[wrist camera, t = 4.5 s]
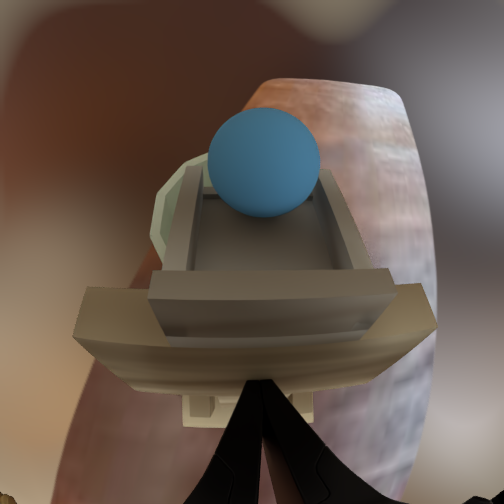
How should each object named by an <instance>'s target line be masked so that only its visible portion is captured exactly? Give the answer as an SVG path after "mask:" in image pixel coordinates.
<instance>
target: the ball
mask: <svg viewBox="0 0 504 504" xmlns="http://www.w3.org/2000/svg"><path fill="white" fill-rule="evenodd" d="M207 166H208V173H209V177H210V180H211V183H212V185H213V187H214V189H215V191H216V192H217V193H218V195H219V196H220V198H221V199H222V200H223V201H224V202H225V203H226V204H228V205H229V206H230V207H231V208H233V209H235V210H236V211H239V212H241V213H243V214H246V215H249V216H253V217H262V218H264V217H275V216H279V215H283V214H285V213H288V212H290V211H292V210H294V209H295V208H297V207H298V206H299V205H300V204H302V203H303V202H304V201H305V200H306V199H307V198H308V196H309V195H310V194H311V192H312V191H313V189H314V187H315V185H316V182H317V180H318V176H319V171H320V155H319V150H318V146H317V143H316V141H315V139H314V137H313V135H312V134H311V132H310V131H309V129H308V128H307V127H306V126H305V125H304V124H303V123H302V122H301V121H300V120H298V119H297V118H296V117H294V116H292V115H290V114H289V113H287V112H284V111H281V110H278V109H274V108H254V109H249V110H245V111H243V112H240V113H238V114H236V115H235V116H233V117H231V118H230V119H229V120H227V121H226V122H225V123H224V124H223V125H222V126H221V127H220V128H219V130H218V131H217V133H216V134H215V136H214V138H213V139H212V142H211V144H210V148H209V152H208V164H207Z"/></svg>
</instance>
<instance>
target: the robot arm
mask: <svg viewBox="0 0 504 504" xmlns="http://www.w3.org/2000/svg"><path fill="white" fill-rule="evenodd" d="M262 443H263V447H264V451H265V456H266V460H267V464H268V469H269V473H270V477H271V481H272V485H273V490H274V494H275V498H276V502H277V504H408V503H404V502H399V501H396V500H393V499H390V498H388V497H386V496H384V495H382V494H381V493H379V492H378V491H376V490H375V489H374V488H372V487H371V486H370V485H369V484H367V483H366V482H365V481H363V480H362V479H361V478H360V477H358V476H357V475H356V474H355V473H354V472H352V471H351V470H350V469H349V468H348V467H347V466H346V465H344V464H343V463H342V462H341V461H340V460H339V459H338V458H337V457H336V455H335V454H334V453H333V452H332V451H331V450H330V449H329V448H328V446H325V445H326V444H325V443H324V442H323V441H322V440H321V439H320V437H319V436H318V435H317V434H316V433H315V431H314V430H313V429H312V428H311V427H310V426H309V424H308V423H307V422H306V421H305V419H304V418H303V417H302V416H301V415H300V413H299V412H298V411H297V410H296V408H295V407H294V406H293V405H292V404H291V402H290V401H289V400H288V399H287V397H286V396H285V395H284V393H283V392H282V391H281V390H280V388H279V387H278V386H277V385H276V383H275V382H274V381H273V380H272V379H265V380H260V381H259V380H246V382H245V385H244V387H243V389H242V392H241V394H240V396H239V399H238V401H237V403H236V406H235V408H234V410H233V413H232V415H231V417H230V420H229V422H228V424H227V426H226V429H225V431H224V433H223V435H222V438H221V440H220V442H219V444H218V446H217V448H216V451H215V454H214V455H213V457H212V459H211V461H210V463H209V465H208V467H207V469H206V471H205V473H204V475H203V476H202V478H201V479H200V481H199V482H198V484H197V485H196V487H195V488H194V490H193V491H192V493H191V494H190V495H189V497H188V498H187V499H186V501H185V502H184V503H183V504H258V496H259V481H260V465H261V448H262ZM463 504H504V490H503V491H501V492H500V493H499V494H498V495H496V496H495V497H494V498H492V499H491V500H488V499H486V498H482V497H478V496H473V497H472V498H470V499H469V500H467V501H466V502H464V503H463Z"/></svg>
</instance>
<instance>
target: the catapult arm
mask: <svg viewBox="0 0 504 504" xmlns="http://www.w3.org/2000/svg"><path fill="white" fill-rule="evenodd" d="M437 328H438V325H437V323H436V320H435V317H434V315H433V312H432V309H431V307H430V304H429V302H428V299H427V297H426V294H425V292H424V289H423V287H422V285H421V283H415V284H401V285H395V284H394V281H393V279H392V276H391V274H390V271H389V269H388V268H381V269H374V268H373V266H372V263H371V260H370V258H369V255H368V253H367V250H366V248H365V245H364V243H363V240H362V238H361V236H360V233H359V231H358V229H357V226H356V224H355V222H354V219H353V217H352V215H351V213H350V211H349V208H348V206H347V204H346V202H345V200H344V198H343V195H342V193H341V191H340V189H339V187H338V185H337V183H336V181H335V179H334V177H333V175H332V173H331V171H330V170H326V169H320V171H319V176H318V180H317V182H316V185H315V187H314V189H313V191H312V192H311V194H310V195H309V196H308V198H307V199H306V200H305V201H304V202H303V203H302V204H300V205H299V206H298V207H297V208H295V209H294V210H292V211H290V212H288V213H285V214H283V215H279V216H275V217H264V218H262V217H253V216H249V215H246V214H243V213H241V212H239V211H236V210H235V209H233V208H231V207H230V206H229V205H228V204H226V203H225V202H224V201H223V200H222V199H221V198H220V196H219V195H218V193H217V192H216V191H215V189H214V187H204V182H203V166H186V169H185V173H184V176H183V180H182V184H181V188H180V191H179V195H178V199H177V203H176V207H175V211H174V215H173V219H172V224H171V228H170V232H169V237H168V241H167V246H166V251H165V256H164V261H163V266H162V270H153V272H152V277H151V281H150V286H149V289H128V288H105V287H103V288H102V287H87V288H86V291H85V294H84V297H83V301H82V304H81V308H80V311H79V314H78V318H77V321H76V325H75V329H74V333H73V338H74V339H75V340H76V341H77V342H78V343H80V344H81V346H83V347H84V348H85V349H86V350H87V351H88V352H89V353H90V354H91V355H92V356H94V357H95V358H96V359H97V360H98V361H99V362H100V363H102V364H103V365H104V366H105V367H106V368H108V369H109V370H110V371H111V372H112V373H114V374H115V375H116V376H117V377H119V378H120V379H121V380H122V381H124V382H125V383H126V384H128V385H129V386H130V387H132V388H133V389H134V390H136V391H143V392H152V393H162V394H174V395H191V396H218V399H219V402H220V405H221V408H235V406H236V403H237V401H238V399H239V396H240V394H241V392H242V389H243V387H244V385H245V382H246V380H259V381H260V380H265V379H272V380H273V381H274V382H275V383H276V385H277V386H278V387H279V388H280V390H281V391H282V392H283V393H284V395H285V396H286V397H287V398H288V396H289V395H290V394H293V393H303V392H313V391H321V390H329V389H336V388H342V387H348V386H354V385H360V384H365V383H368V382H369V381H371V380H372V379H374V378H375V377H376V376H378V375H379V374H381V373H382V372H383V371H385V370H386V369H388V368H389V367H390V366H392V365H393V364H394V363H396V362H397V361H398V360H399V359H401V358H402V357H403V356H405V355H406V354H407V353H408V352H410V351H411V350H412V349H413V348H415V347H416V346H417V345H418V344H419V343H421V342H422V341H423V340H424V339H425V338H426V337H428V336H429V335H430V334H431V333H432V332H433V331H434V330H435V329H437Z"/></svg>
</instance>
